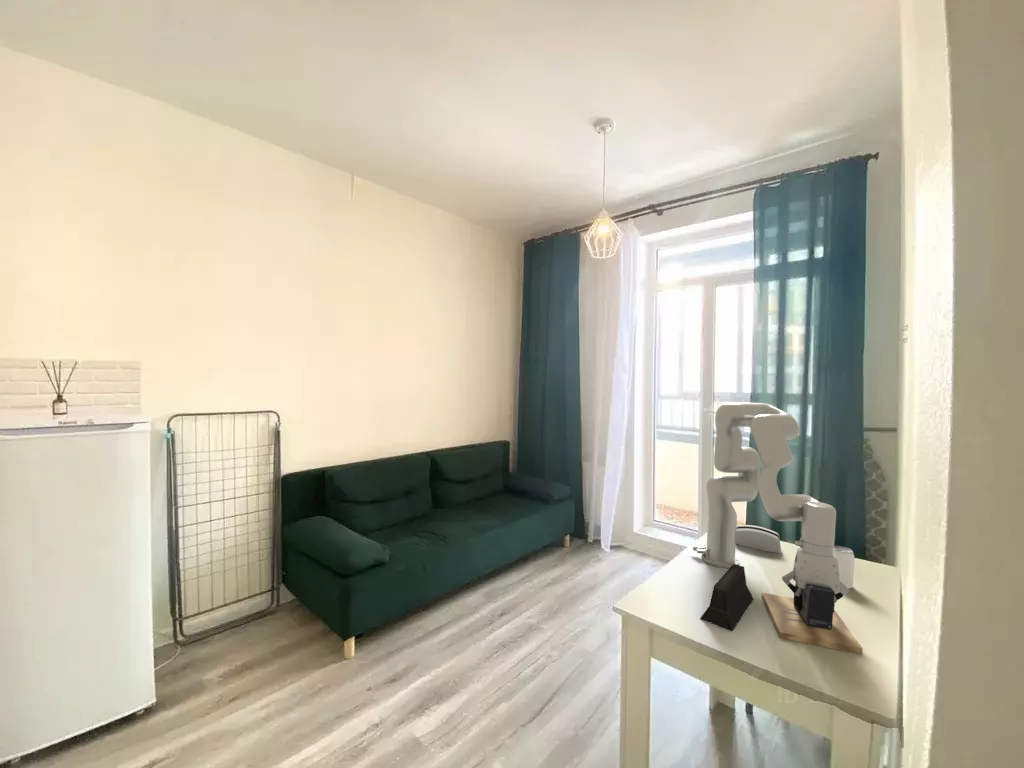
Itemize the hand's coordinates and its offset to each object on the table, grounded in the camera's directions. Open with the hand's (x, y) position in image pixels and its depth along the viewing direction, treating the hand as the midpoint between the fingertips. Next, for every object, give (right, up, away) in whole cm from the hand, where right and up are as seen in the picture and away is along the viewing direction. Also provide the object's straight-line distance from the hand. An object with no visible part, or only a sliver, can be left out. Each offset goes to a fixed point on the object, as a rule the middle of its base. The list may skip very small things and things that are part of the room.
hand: (813, 610), depth 122 cm
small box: (0, -2, 0) cm, 2 cm away
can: (+26, -4, +24) cm, 35 cm away
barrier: (-20, -3, +7) cm, 22 cm away
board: (-2, -4, +1) cm, 4 cm away
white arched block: (+14, -3, +53) cm, 55 cm away
